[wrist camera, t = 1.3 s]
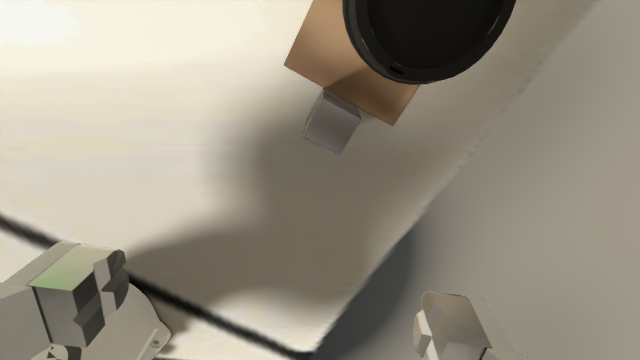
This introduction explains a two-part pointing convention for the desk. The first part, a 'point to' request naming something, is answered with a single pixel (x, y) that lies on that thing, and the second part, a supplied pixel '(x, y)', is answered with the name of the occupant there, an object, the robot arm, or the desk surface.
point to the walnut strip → (340, 78)
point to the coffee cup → (423, 35)
